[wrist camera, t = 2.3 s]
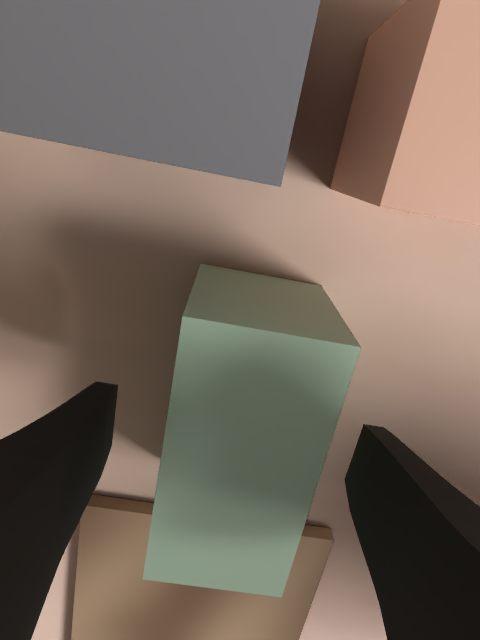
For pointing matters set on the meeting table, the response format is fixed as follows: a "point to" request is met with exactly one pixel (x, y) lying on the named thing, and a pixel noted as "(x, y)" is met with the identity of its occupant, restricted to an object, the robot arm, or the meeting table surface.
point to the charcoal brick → (159, 78)
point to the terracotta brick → (418, 114)
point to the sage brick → (246, 429)
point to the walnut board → (177, 586)
